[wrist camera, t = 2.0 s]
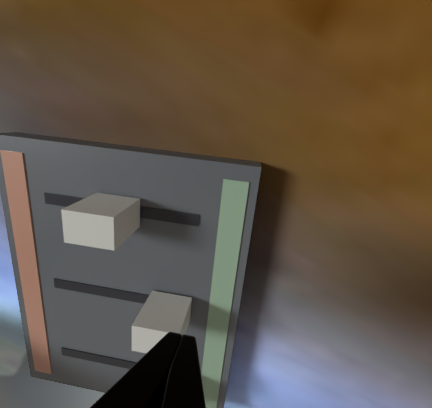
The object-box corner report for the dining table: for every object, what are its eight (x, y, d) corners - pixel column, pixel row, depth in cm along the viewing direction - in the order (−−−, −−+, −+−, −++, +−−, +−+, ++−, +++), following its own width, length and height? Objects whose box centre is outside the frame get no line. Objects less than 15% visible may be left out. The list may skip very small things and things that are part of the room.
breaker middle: (151, 312, 20) (131, 350, 17) (152, 290, 19) (131, 325, 16) (190, 319, 20) (177, 359, 16) (191, 297, 19) (179, 334, 16)
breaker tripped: (98, 220, 18) (64, 242, 15) (97, 192, 18) (61, 209, 14) (139, 226, 18) (114, 250, 15) (140, 198, 17) (113, 217, 14)
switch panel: (46, 358, 26) (30, 377, 24) (16, 132, 19) (-11, 133, 17) (224, 395, 25) (221, 419, 23) (260, 162, 18) (261, 167, 16)
